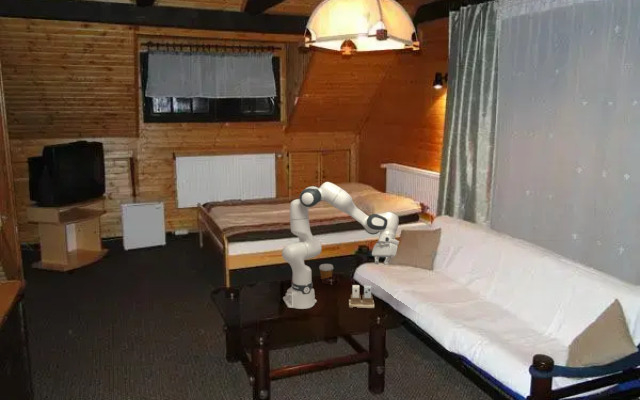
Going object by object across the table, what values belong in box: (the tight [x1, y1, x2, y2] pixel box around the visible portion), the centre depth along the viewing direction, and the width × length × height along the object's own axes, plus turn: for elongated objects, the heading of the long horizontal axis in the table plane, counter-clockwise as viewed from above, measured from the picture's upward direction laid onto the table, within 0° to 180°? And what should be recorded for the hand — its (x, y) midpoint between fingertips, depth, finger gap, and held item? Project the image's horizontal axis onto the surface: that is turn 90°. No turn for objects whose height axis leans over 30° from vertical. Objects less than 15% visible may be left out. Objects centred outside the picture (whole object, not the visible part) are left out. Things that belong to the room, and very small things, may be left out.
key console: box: [348, 293, 375, 309], centre depth 318 cm, size 9×15×5 cm, turn 87°
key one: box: [351, 284, 360, 298], centre depth 317 cm, size 4×4×8 cm
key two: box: [363, 284, 372, 298], centre depth 317 cm, size 4×4×8 cm
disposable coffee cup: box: [318, 263, 335, 280], centre depth 353 cm, size 10×10×12 cm
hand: (380, 264), depth 297 cm, fingers open, 8 cm apart
